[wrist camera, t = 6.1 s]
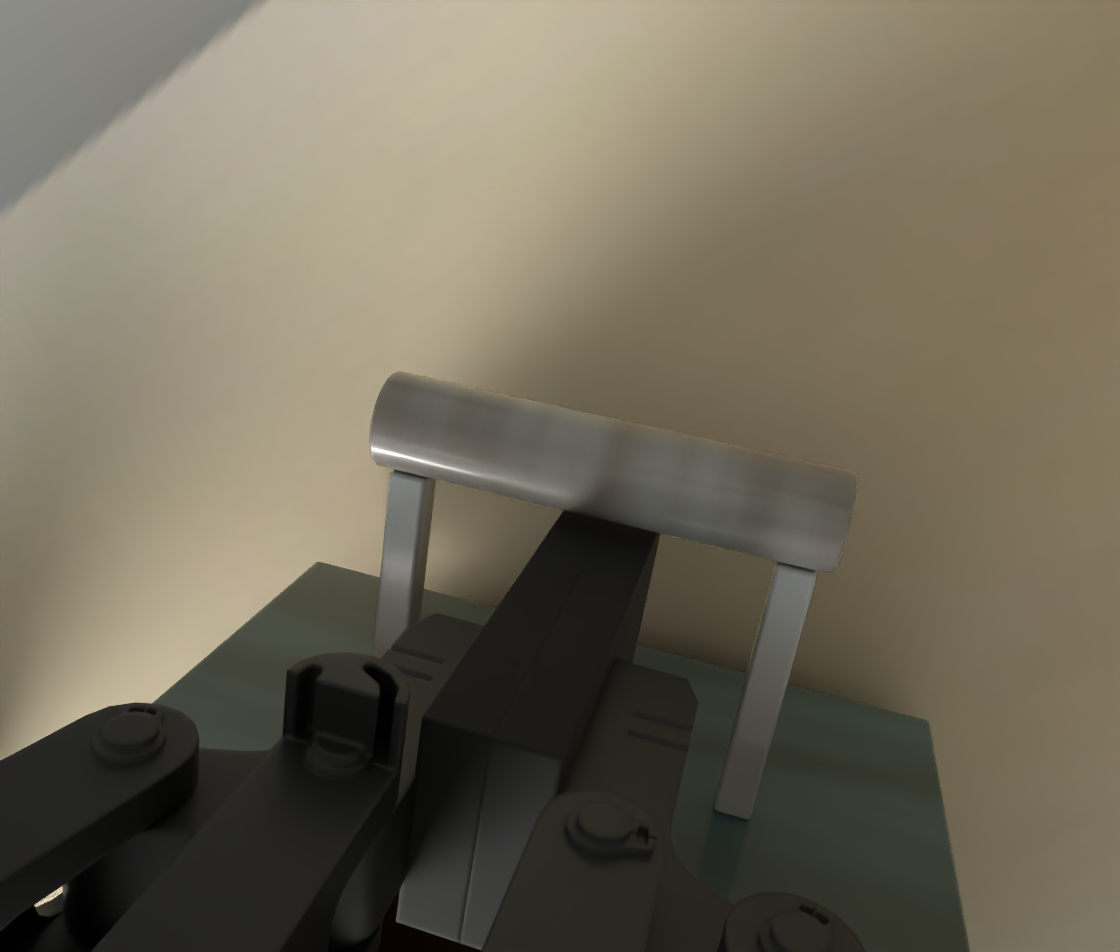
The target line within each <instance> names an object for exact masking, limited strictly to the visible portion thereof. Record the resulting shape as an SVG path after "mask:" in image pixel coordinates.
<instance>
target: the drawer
mask: <svg viewBox="0 0 1120 952" xmlns="http://www.w3.org/2000/svg"><path fill="white" fill-rule="evenodd" d="M370 452H371V456H372V459H373V461H374V462H375V463H376V464H377V465H379V466H381V467H385V468H389V469H393V471H392V472H391V474H390V478H389V489H388V499H387V510H386V520H385V531H384V541H383V552H382V562H381V573H380V577H376V576H372V575H368V574H365V573H361V572H357V571H353V570H349V569H345V568H342V567H338V566H334V565H330V564H326V563H322V562H316V563H315V564H314V565H313V566H312V567H310V568H309V569H308V570H307V571H306V572H305V573H303V574H302V575H301V576H300V577H299V578H298V579H296V580H295V581H294V582H293V583H292V584H291V585H289V586H288V587H287V588H286V589H285V590H284V591H282V592H281V593H280V594H279V595H278V596H277V597H275V598H274V599H273V600H272V601H271V602H270V603H268V604H267V605H266V606H265V607H264V608H263V609H262V610H260V611H259V612H258V613H257V614H256V615H255V616H253V617H252V618H251V619H250V620H249V621H248V622H246V623H245V624H244V625H243V626H242V627H241V628H239V629H238V630H237V631H236V632H235V633H234V634H232V635H231V636H230V637H229V638H228V639H227V640H225V641H224V642H223V643H222V644H221V645H220V646H218V647H217V648H216V649H215V650H214V651H213V652H211V653H210V654H209V655H208V656H207V657H206V658H204V659H203V660H202V661H201V662H200V663H199V664H197V665H196V666H195V667H194V668H193V669H192V670H190V671H189V672H188V673H187V674H186V675H185V676H184V677H182V678H181V679H180V680H179V681H178V682H177V683H175V684H174V685H173V686H172V687H171V688H170V689H168V690H167V691H166V692H165V693H164V694H163V695H161V696H160V697H159V698H158V699H157V700H156V701H154V702H153V703H152V704H161V705H164V706H167V707H170V708H173V709H176V710H179V711H182V712H183V713H184V714H185V715H186V716H187V717H189V718H190V719H191V720H192V721H193V722H195V725H196V728H197V731H198V735H199V748H208V749H224V750H239V751H264V750H270V749H271V748H272V747H273V746H274V745H275V744H276V743H277V741H278V740H279V739H280V738H281V737H282V734H283V719H284V704H285V689H286V674H287V670H288V669H289V668H291V667H292V666H294V665H295V664H297V663H298V662H300V661H301V660H303V659H306V658H309V657H313V656H316V655H320V654H323V653H336V652H353V653H359V654H365V655H371V656H374V657H377V658H379V659H381V658H382V656H383V655H384V654H385V653H386V652H387V650H388V649H390V650H391V647H392V644H393V643H394V642H395V641H396V640H397V638H398V637H399V636H400V635H401V634H402V633H403V631H404V630H405V629H406V628H407V627H408V626H409V625H411V624H413V623H415V622H417V621H419V620H421V619H424V618H426V617H428V616H430V615H432V614H434V613H436V612H437V613H441V614H445V615H448V616H452V617H456V618H459V619H463V620H467V621H470V622H474V623H478V624H481V625H486V623H487V622H488V620H489V619H490V617H491V616H492V615H493V613H494V612H495V610H496V609H497V608H495V607H491V606H487V605H483V604H480V603H476V602H472V601H468V600H464V599H460V598H457V597H453V596H449V595H445V594H441V593H437V592H434V591H430V590H426V589H424V581H425V572H426V563H427V554H428V545H429V537H430V528H431V519H432V510H433V501H434V493H435V484H436V480H439V481H444V482H448V483H452V484H456V485H460V486H464V487H469V488H473V489H477V490H481V491H485V492H489V493H494V494H498V495H502V496H506V497H510V498H514V499H519V500H523V501H527V502H531V503H535V504H539V505H544V506H548V507H552V508H556V509H560V510H564V511H569V512H573V513H577V514H581V515H585V516H590V517H594V518H598V519H602V520H606V521H610V522H615V523H619V524H623V525H627V526H631V527H635V528H640V529H644V530H648V531H652V532H656V533H660V534H665V535H669V536H673V537H677V538H681V539H685V540H690V541H694V542H698V543H702V544H706V545H710V546H715V547H719V548H723V549H727V550H731V551H736V552H740V553H744V554H748V555H752V556H756V557H761V558H765V559H769V560H773V561H775V563H774V566H773V570H772V574H771V578H770V582H769V586H768V590H767V594H766V598H765V602H764V606H763V610H762V613H761V617H760V621H759V625H758V629H757V633H756V637H755V641H754V645H753V649H752V653H751V656H750V660H749V664H748V668H747V672H746V673H744V672H740V671H737V670H733V669H729V668H725V667H721V666H717V665H714V664H710V663H706V662H702V661H698V660H694V659H691V658H687V657H683V656H679V655H675V654H671V653H668V652H664V651H660V650H656V649H652V648H648V647H645V646H641V645H637V644H636V649H635V653H634V658H633V663H634V664H638V665H642V666H646V667H649V668H653V669H657V670H660V671H664V672H668V673H671V674H675V675H679V676H682V677H686V678H688V680H689V683H690V685H691V687H692V689H693V692H694V694H695V696H696V699H697V701H698V707H697V711H696V716H695V721H694V725H693V729H692V734H691V739H690V743H689V748H688V752H687V757H686V761H685V766H684V770H683V775H682V779H681V784H680V788H679V793H678V797H677V802H676V806H675V811H674V815H673V820H672V824H671V840H672V843H673V847H674V850H675V853H676V854H677V856H678V858H679V859H680V861H681V862H682V864H683V866H684V867H685V868H686V869H687V870H688V871H689V872H690V873H691V874H692V875H693V877H694V878H695V879H696V880H697V881H698V882H700V883H701V884H703V885H704V886H706V887H707V888H708V889H710V890H711V891H713V892H714V893H715V894H717V895H719V896H720V897H722V898H724V899H726V900H727V901H729V902H731V903H732V904H734V905H736V903H737V902H738V901H739V900H741V899H744V898H746V897H748V896H751V895H753V894H755V893H757V892H786V893H790V894H793V895H797V896H800V897H804V898H808V899H811V900H812V901H814V902H816V903H818V904H819V905H821V906H823V907H825V908H826V909H828V910H830V911H832V912H833V913H835V914H836V915H837V916H838V917H839V918H840V919H841V920H843V921H844V922H845V923H846V924H847V925H848V926H849V927H850V928H851V929H852V930H853V931H854V932H855V933H856V934H857V936H858V938H859V940H860V941H861V943H862V945H863V947H864V949H865V950H866V952H970V949H969V943H968V938H967V932H966V926H965V921H964V915H963V910H962V904H961V899H960V893H959V887H958V882H957V876H956V871H955V865H954V859H953V854H952V848H951V843H950V837H949V832H948V826H947V820H946V815H945V809H944V804H943V798H942V792H941V787H940V781H939V776H938V770H937V765H936V759H935V753H934V748H933V742H932V737H931V731H930V725H929V722H928V721H927V720H925V719H921V718H917V717H913V716H909V715H905V714H902V713H898V712H894V711H890V710H886V709H882V708H878V707H875V706H871V705H867V704H863V703H859V702H855V701H852V700H848V699H844V698H840V697H836V696H832V695H829V694H825V693H821V692H817V691H813V690H809V689H806V688H802V687H798V686H794V685H790V684H788V680H789V676H790V673H791V669H792V665H793V662H794V658H795V655H796V651H797V647H798V644H799V640H800V636H801V633H802V629H803V625H804V622H805V618H806V614H807V611H808V607H809V604H810V600H811V596H812V593H813V589H814V585H815V582H816V578H817V571H819V572H823V573H827V574H830V573H833V572H834V571H835V569H836V568H837V566H838V564H839V561H840V559H841V556H842V553H843V550H844V546H845V543H846V539H847V536H848V532H849V528H850V523H851V519H852V514H853V510H854V504H855V498H856V491H857V475H856V473H854V472H853V471H849V470H845V469H840V468H835V467H831V466H826V465H822V464H817V463H813V462H808V461H804V460H799V459H795V458H790V457H786V456H781V455H777V454H772V453H768V452H763V451H759V450H754V449H749V448H745V447H740V446H736V445H731V444H727V443H722V442H718V441H713V440H709V439H704V438H700V437H695V436H691V435H686V434H682V433H677V432H673V431H668V430H664V429H659V428H654V427H650V426H645V425H641V424H636V423H632V422H627V421H623V420H618V419H614V418H609V417H605V416H600V415H596V414H591V413H587V412H582V411H578V410H573V409H568V408H564V407H559V406H555V405H550V404H546V403H541V402H537V401H532V400H528V399H523V398H519V397H514V396H510V395H505V394H501V393H496V392H492V391H487V390H482V389H478V388H473V387H469V386H464V385H460V384H455V383H451V382H446V381H442V380H437V379H433V378H428V377H424V376H419V375H415V374H410V373H406V372H396V373H394V374H392V375H391V376H390V377H389V378H388V379H387V381H386V382H385V384H384V385H383V387H382V389H381V391H380V393H379V396H378V398H377V401H376V404H375V407H374V411H373V415H372V420H371V426H370ZM399 894H400V889H399V891H398V893H397V894H396V896H395V898H394V900H393V901H392V903H391V905H390V907H389V909H388V910H387V912H386V914H385V916H384V917H383V924H382V932H381V941H380V945H379V949H378V952H481V950H479V949H476V948H473V947H470V946H467V945H464V944H461V943H458V942H455V941H452V940H449V939H446V938H443V937H440V936H437V935H434V934H431V933H428V932H425V931H422V930H419V929H416V928H413V927H410V926H407V925H404V924H401V923H398V922H396V917H397V909H398V901H399Z"/></svg>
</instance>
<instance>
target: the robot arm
mask: <svg viewBox="0 0 1120 952" xmlns="http://www.w3.org/2000/svg"><path fill="white" fill-rule="evenodd" d="M659 537H660V533H656V532H652V531H648V530H644V529H640V528H635V527H631V526H627V525H623V524H619V523H615V522H610V521H606V520H602V519H598V518H594V517H590V516H585V515H581V514H577V513H573V512H569V511H563V512H562V514H561V515H560V517H559V518H558V520H557V521H556V523H555V524H554V526H553V527H552V528H551V530H550V531H549V533H548V534H547V536H546V537H545V539H544V540H543V542H542V543H541V544H540V546H539V547H538V549H537V550H536V552H535V553H534V555H533V556H532V558H531V559H530V561H529V562H528V563H527V565H526V566H525V568H524V569H523V571H522V572H521V574H520V575H519V577H518V578H517V580H516V581H515V582H514V584H513V585H512V587H511V588H510V590H509V591H508V593H507V594H506V596H505V597H504V599H503V600H502V601H501V603H500V604H499V606H498V607H497V609H496V610H495V612H494V613H493V615H492V616H491V617H490V619H489V620H488V622H487V623H486V625H481V624H478V623H474V622H470V621H467V620H463V619H459V618H456V617H452V616H448V615H445V614H441V613H437V612H436V613H434V614H432V615H430V616H428V617H426V618H424V619H421V620H419V621H417V622H415V623H413V624H411V625H409V626H408V627H407V628H406V629H405V630H404V631H403V633H402V634H401V635H400V636H399V637H398V638H397V640H396V641H395V642H394V643H393V644H392V647H391V650H390V649H388V650H387V652H386V653H385V654H384V655H383V656H382V658H381V659H379V658H377V657H374V656H371V655H365V654H359V653H353V652H336V653H323V654H320V655H316V656H313V657H309V658H306V659H303V660H301V661H300V662H298V663H297V664H295V665H294V666H292V667H291V668H289V669H288V670H287V674H286V689H285V704H284V719H283V734H282V737H281V738H280V739H279V740H278V741H277V743H276V744H275V745H274V746H273V747H272V748H271V749H270V750H264V751H239V750H224V749H208V748H199V735H198V731H197V728H196V725H195V722H193V721H192V720H191V719H190V718H189V717H187V716H186V715H185V714H184V713H183V712H182V711H179V710H176V709H173V708H170V707H167V706H164V705H161V704H149V703H130V704H123V705H116V706H109V707H107V708H104V709H102V710H99V711H96V712H94V713H91V714H88V715H86V716H84V717H82V718H80V719H78V720H76V721H75V722H73V723H71V724H69V725H67V726H65V727H63V728H61V729H59V730H58V731H56V732H54V733H52V734H50V735H48V736H46V737H44V738H43V739H41V740H39V741H37V742H35V743H33V744H31V745H29V746H27V747H26V748H24V749H22V750H20V751H18V752H16V753H14V754H12V755H11V756H9V757H7V758H5V759H3V760H1V761H0V952H378V949H379V945H380V941H381V932H382V924H383V917H384V916H385V914H386V912H387V910H388V909H389V907H390V905H391V903H392V901H393V900H394V898H395V896H396V894H397V893H398V891H399V889H400V894H399V901H398V909H397V917H396V922H398V923H401V924H404V925H407V926H410V927H413V928H416V929H419V930H422V931H425V932H428V933H431V934H434V935H437V936H440V937H443V938H446V939H449V940H452V941H455V942H458V943H461V944H464V945H467V946H470V947H473V948H476V949H479V950H481V952H866V950H865V949H864V947H863V945H862V943H861V941H860V940H859V938H858V936H857V934H856V933H855V932H854V931H853V930H852V929H851V928H850V927H849V926H848V925H847V924H846V923H845V922H844V921H843V920H841V919H840V918H839V917H838V916H837V915H836V914H835V913H833V912H832V911H830V910H828V909H826V908H825V907H823V906H821V905H819V904H818V903H816V902H814V901H812V900H811V899H808V898H804V897H800V896H797V895H793V894H790V893H786V892H757V893H755V894H753V895H751V896H748V897H746V898H744V899H741V900H739V901H738V902H737V903H736V905H734V904H732V903H731V902H729V901H727V900H726V899H724V898H722V897H720V896H719V895H717V894H715V893H714V892H713V891H711V890H710V889H708V888H707V887H706V886H704V885H703V884H701V883H700V882H698V881H697V880H696V879H695V878H694V877H693V875H692V874H691V873H690V872H689V871H688V870H687V869H686V868H685V867H684V866H683V864H682V862H681V861H680V859H679V858H678V856H677V854H676V853H675V850H674V847H673V843H672V840H671V824H672V820H673V815H674V811H675V806H676V802H677V797H678V793H679V788H680V784H681V779H682V775H683V770H684V766H685V761H686V757H687V752H688V748H689V743H690V739H691V734H692V729H693V725H694V721H695V716H696V711H697V707H698V701H697V699H696V696H695V694H694V692H693V689H692V687H691V685H690V683H689V680H688V678H686V677H682V676H679V675H675V674H671V673H668V672H664V671H660V670H657V669H653V668H649V667H646V666H642V665H638V664H634V663H633V658H634V653H635V649H636V644H637V639H638V635H639V630H640V625H641V621H642V616H643V611H644V607H645V602H646V597H647V593H648V588H649V584H650V579H651V574H652V570H653V565H654V560H655V556H656V551H657V546H658V542H659ZM62 885H63V893H61V894H60V895H58V896H57V897H56V898H54V899H53V900H51V901H49V902H47V903H45V904H42V905H40V906H38V907H35V906H34V905H35V904H36V903H37V902H39V901H40V900H42V899H43V898H45V897H46V896H48V895H49V894H51V893H52V892H54V891H55V890H57V889H58V888H59V887H61V886H62Z"/></svg>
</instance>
